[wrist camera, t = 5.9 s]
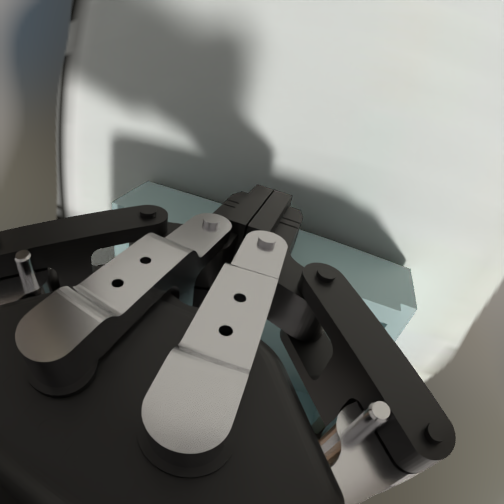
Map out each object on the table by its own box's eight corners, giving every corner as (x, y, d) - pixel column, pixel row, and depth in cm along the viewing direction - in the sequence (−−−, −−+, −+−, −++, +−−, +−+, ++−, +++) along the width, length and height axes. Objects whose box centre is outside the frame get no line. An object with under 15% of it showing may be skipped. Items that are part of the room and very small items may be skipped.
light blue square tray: (147, 181, 16) (105, 206, 13) (410, 269, 14) (418, 317, 11) (149, 330, 23) (124, 361, 20) (325, 399, 20) (316, 440, 18)
